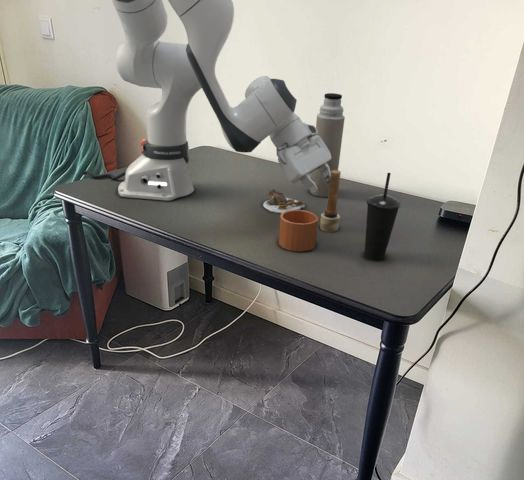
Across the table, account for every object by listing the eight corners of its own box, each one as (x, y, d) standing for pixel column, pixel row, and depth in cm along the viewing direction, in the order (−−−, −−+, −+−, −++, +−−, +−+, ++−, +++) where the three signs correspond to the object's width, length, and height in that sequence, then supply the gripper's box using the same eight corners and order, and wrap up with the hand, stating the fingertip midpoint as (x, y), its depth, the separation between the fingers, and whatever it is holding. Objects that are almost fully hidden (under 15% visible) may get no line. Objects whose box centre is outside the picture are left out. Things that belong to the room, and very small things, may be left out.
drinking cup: (355, 249, 128) (367, 167, 116) (384, 249, 129) (400, 168, 117) (362, 263, 122) (376, 178, 110) (393, 263, 123) (411, 179, 111)
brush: (321, 231, 136) (328, 174, 127) (318, 224, 140) (324, 168, 131) (340, 231, 137) (347, 174, 128) (336, 224, 141) (343, 168, 132)
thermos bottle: (310, 187, 165) (319, 90, 148) (335, 189, 164) (347, 92, 148) (309, 195, 158) (318, 95, 142) (335, 197, 158) (348, 97, 141)
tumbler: (280, 251, 125) (282, 224, 121) (277, 235, 133) (278, 209, 129) (318, 251, 126) (321, 224, 122) (312, 236, 134) (314, 210, 130)
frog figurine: (254, 206, 149) (254, 193, 147) (277, 196, 157) (277, 183, 155) (287, 216, 144) (288, 203, 142) (309, 205, 152) (310, 192, 150)
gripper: (282, 140, 121) (316, 190, 123) (317, 124, 136) (347, 169, 138) (265, 156, 125) (298, 204, 127) (300, 139, 140) (329, 182, 142)
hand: (323, 186), depth 133 cm, fingers open, 8 cm apart
